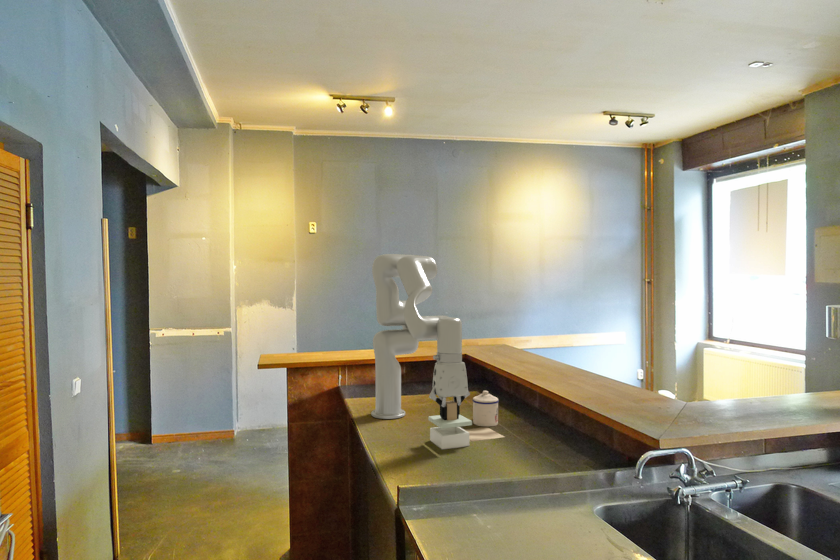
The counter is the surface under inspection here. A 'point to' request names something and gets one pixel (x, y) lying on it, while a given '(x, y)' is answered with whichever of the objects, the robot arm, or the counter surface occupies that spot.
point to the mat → (482, 434)
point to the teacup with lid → (485, 410)
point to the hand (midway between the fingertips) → (449, 417)
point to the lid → (450, 417)
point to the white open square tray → (449, 437)
